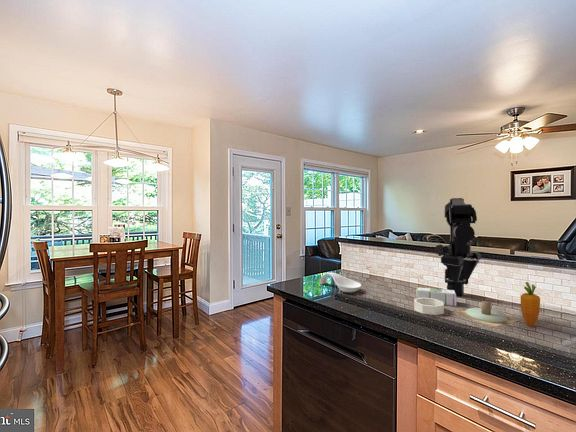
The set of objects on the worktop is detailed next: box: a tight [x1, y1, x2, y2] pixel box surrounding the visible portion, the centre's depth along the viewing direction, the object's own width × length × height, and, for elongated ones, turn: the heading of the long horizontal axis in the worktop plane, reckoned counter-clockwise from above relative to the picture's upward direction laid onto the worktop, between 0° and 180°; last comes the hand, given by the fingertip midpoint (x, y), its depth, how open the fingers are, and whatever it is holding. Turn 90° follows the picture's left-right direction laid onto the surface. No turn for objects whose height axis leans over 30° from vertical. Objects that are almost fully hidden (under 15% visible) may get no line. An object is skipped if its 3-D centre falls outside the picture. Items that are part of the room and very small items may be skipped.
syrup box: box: [415, 286, 457, 307], centre depth 121 cm, size 6×6×14 cm
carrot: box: [520, 281, 541, 328], centre depth 95 cm, size 5×5×15 cm
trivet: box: [454, 306, 521, 328], centre depth 104 cm, size 14×14×1 cm
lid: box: [466, 300, 508, 323], centre depth 104 cm, size 12×12×5 cm
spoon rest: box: [319, 272, 362, 294], centre depth 146 cm, size 24×12×7 cm, turn 40°
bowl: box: [413, 297, 445, 316], centre depth 111 cm, size 10×10×4 cm
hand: (461, 280), depth 108 cm, fingers open, 9 cm apart
